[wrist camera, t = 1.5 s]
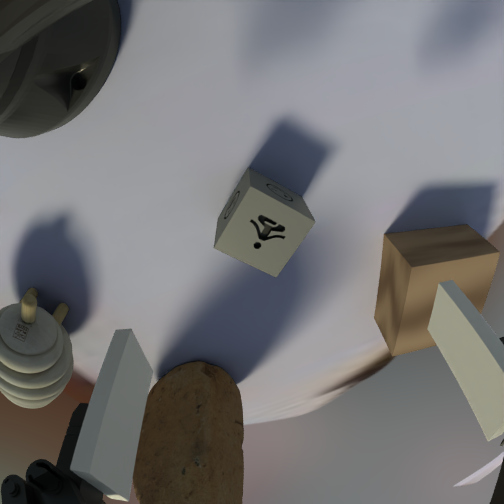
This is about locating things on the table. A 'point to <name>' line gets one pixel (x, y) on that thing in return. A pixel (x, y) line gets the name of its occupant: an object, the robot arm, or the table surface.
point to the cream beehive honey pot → (33, 352)
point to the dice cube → (262, 223)
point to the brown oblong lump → (191, 439)
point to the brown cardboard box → (428, 280)
